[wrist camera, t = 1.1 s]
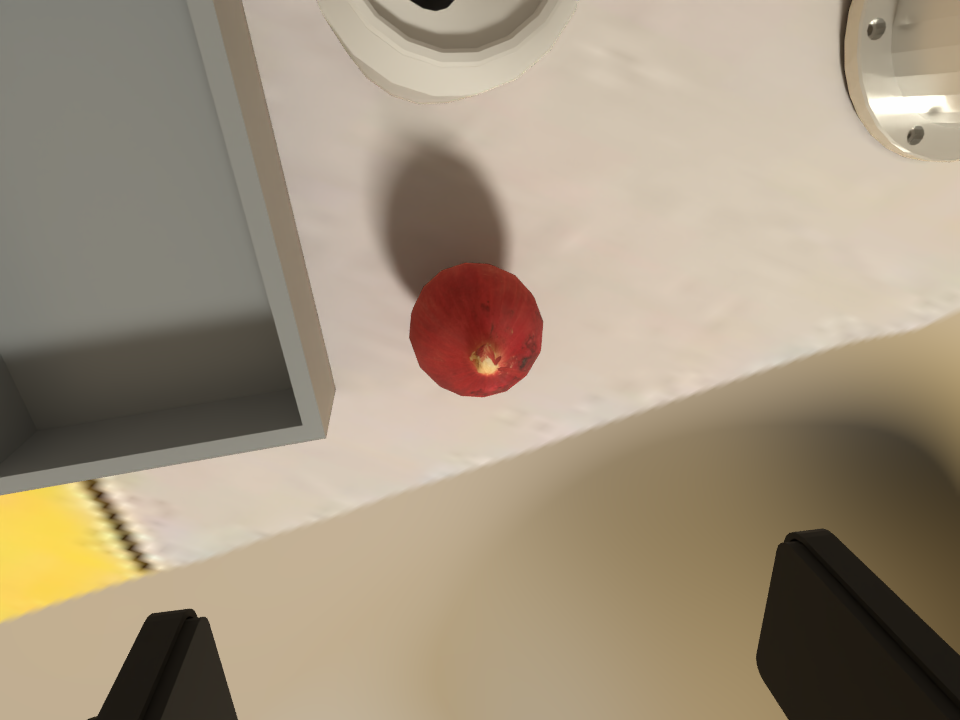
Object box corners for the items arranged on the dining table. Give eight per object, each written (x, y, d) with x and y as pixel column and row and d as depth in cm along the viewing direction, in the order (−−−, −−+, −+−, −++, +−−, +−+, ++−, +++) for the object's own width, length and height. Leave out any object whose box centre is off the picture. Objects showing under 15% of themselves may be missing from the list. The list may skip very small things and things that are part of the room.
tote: (224, -72, 22) (181, -122, 18) (335, 389, 30) (326, 438, 25) (-191, -30, 21) (-353, -72, 16) (36, 439, 29) (-31, 500, 24)
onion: (543, 279, 29) (595, 333, 22) (490, 376, 31) (521, 455, 24) (439, 227, 28) (457, 266, 20) (388, 332, 29) (387, 403, 22)
